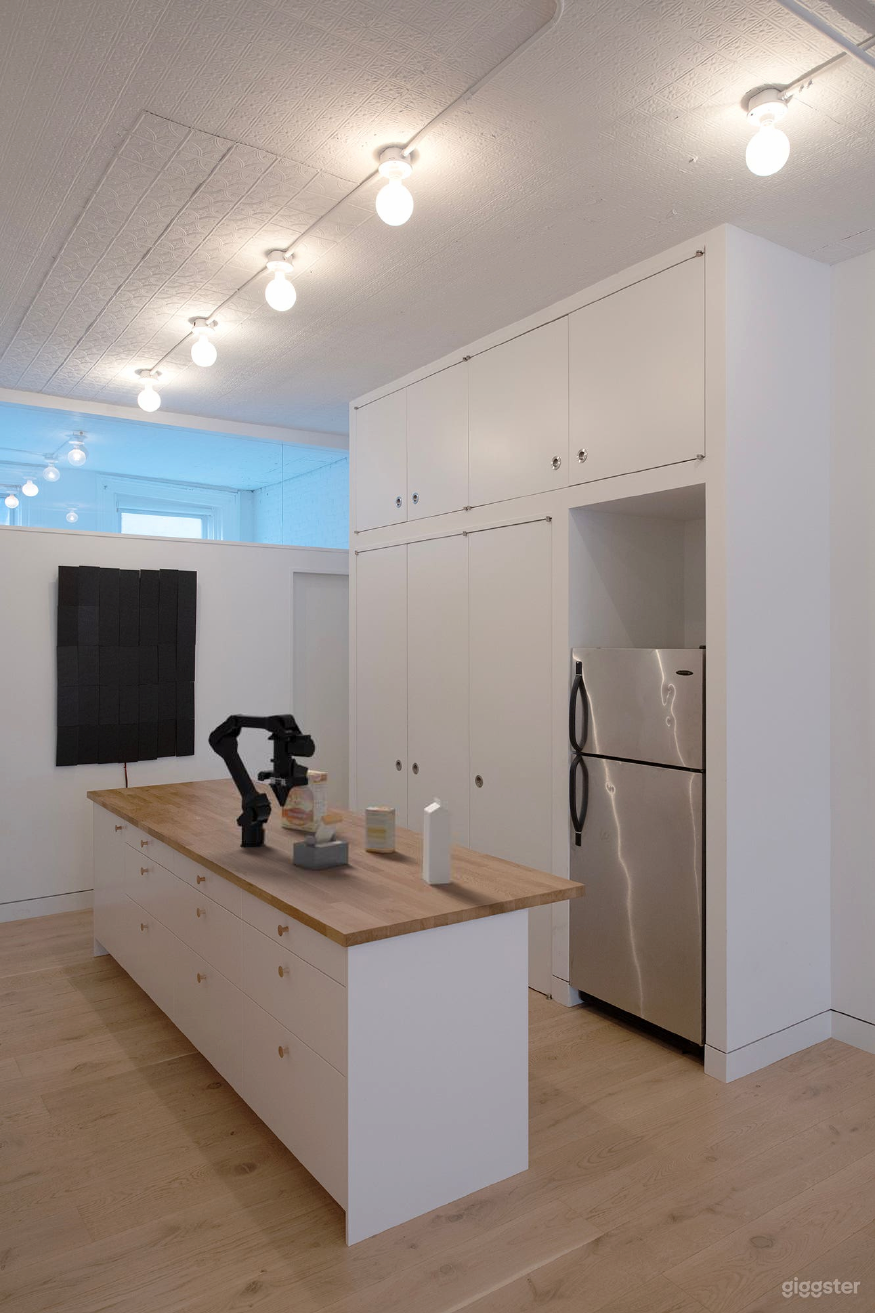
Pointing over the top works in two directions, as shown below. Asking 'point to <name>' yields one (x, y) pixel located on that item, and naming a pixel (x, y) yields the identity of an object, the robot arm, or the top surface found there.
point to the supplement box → (380, 829)
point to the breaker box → (320, 853)
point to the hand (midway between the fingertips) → (282, 806)
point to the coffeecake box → (306, 803)
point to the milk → (437, 844)
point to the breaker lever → (327, 827)
